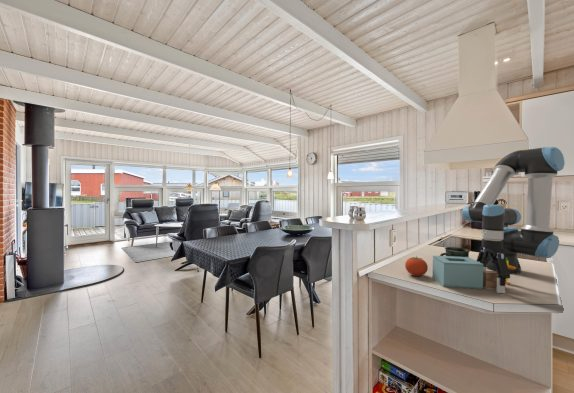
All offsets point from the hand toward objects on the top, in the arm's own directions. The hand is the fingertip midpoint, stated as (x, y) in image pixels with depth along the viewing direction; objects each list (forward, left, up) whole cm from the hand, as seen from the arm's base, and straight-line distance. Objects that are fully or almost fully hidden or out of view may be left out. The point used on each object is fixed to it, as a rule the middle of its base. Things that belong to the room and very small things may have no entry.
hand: (490, 286), depth 114 cm
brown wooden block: (0, 0, 0) cm, 0 cm away
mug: (+6, -21, 0) cm, 22 cm away
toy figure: (-10, -6, 0) cm, 12 cm away
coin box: (+13, -3, 0) cm, 13 cm away
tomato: (+28, -11, 0) cm, 30 cm away
